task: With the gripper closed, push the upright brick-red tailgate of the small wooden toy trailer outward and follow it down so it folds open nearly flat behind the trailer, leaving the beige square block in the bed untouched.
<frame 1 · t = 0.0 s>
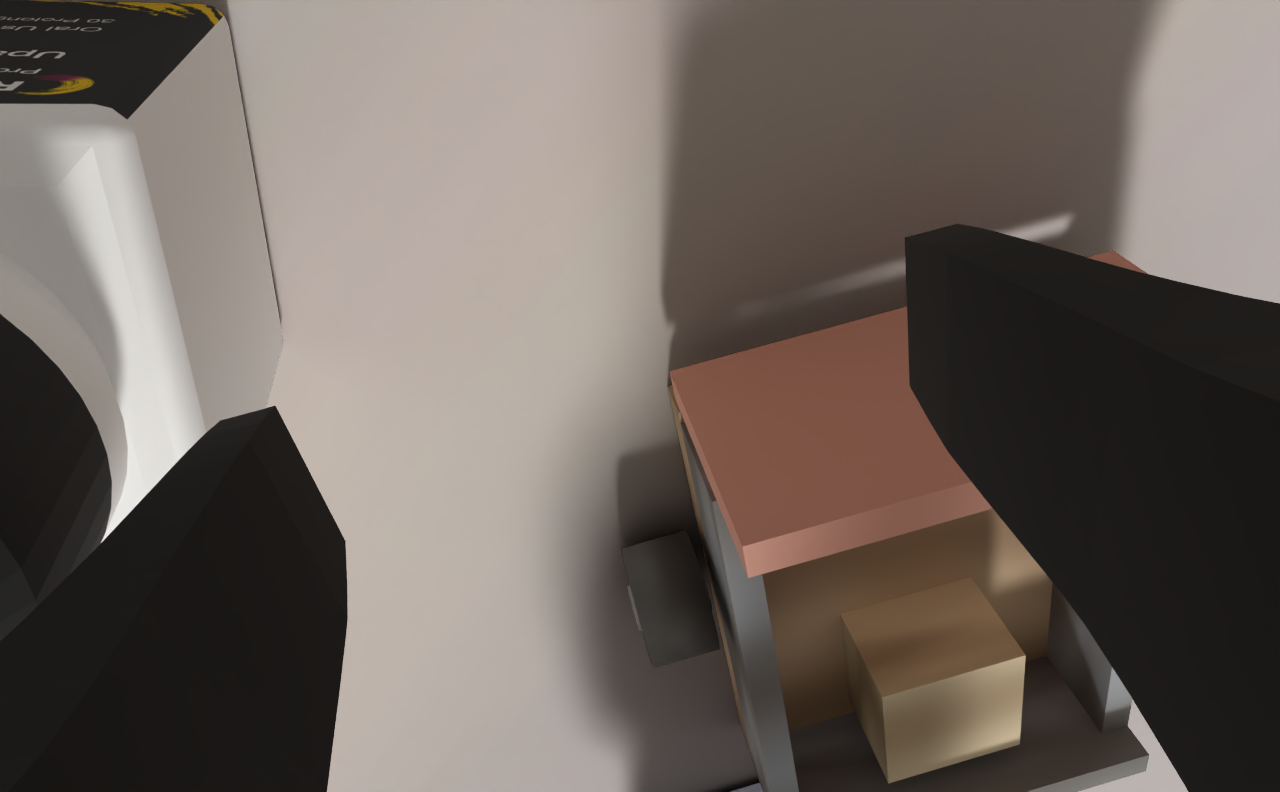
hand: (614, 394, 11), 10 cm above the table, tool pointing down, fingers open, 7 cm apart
trailer: (887, 531, 27), on the table
beige square block: (908, 640, 28), point 1 cm above the table, touching trailer
medicine bottle: (69, 190, 18), on the table
tailgate: (954, 392, 19), point 4 cm above the table, hinge at 0.0°
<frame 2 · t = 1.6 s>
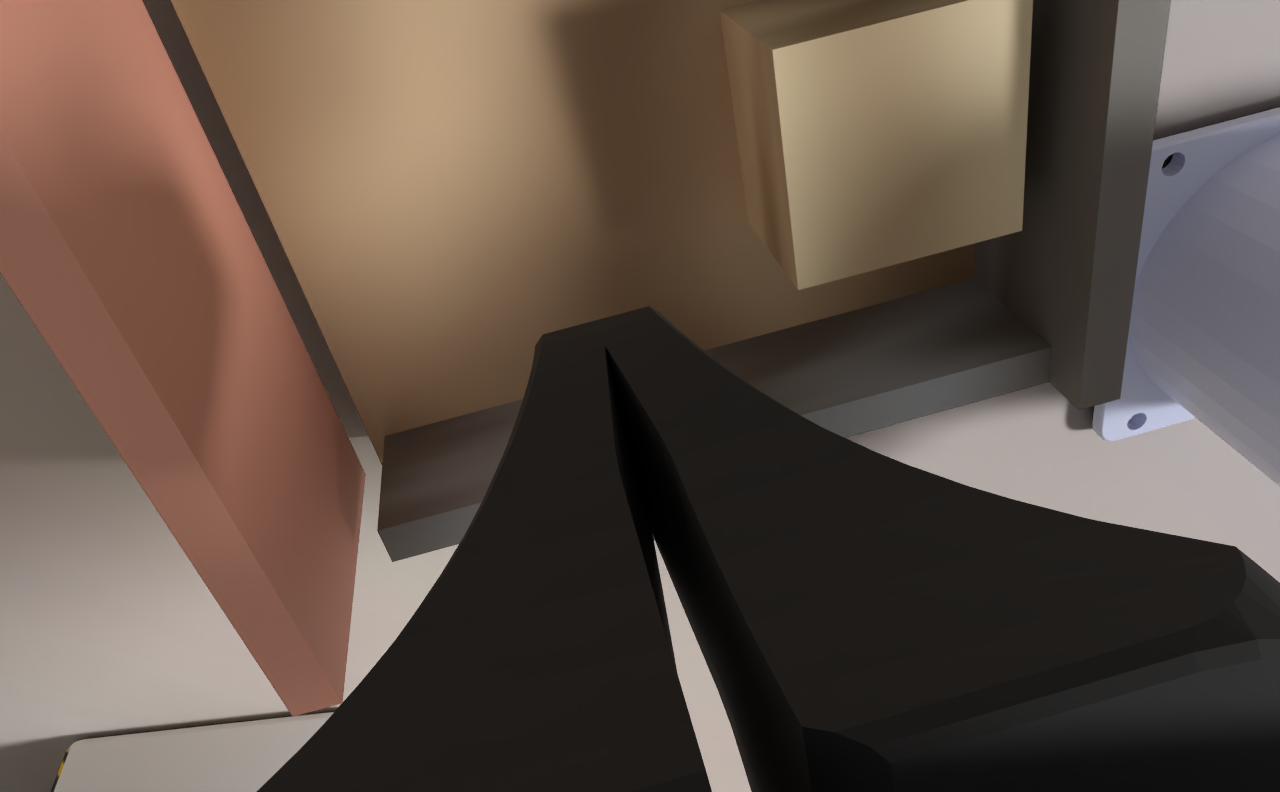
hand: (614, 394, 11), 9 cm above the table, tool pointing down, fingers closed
trailer: (643, 124, 18), on the table
beige square block: (839, 96, 17), point 1 cm above the table, touching trailer
tailgate: (201, 331, 14), point 4 cm above the table, hinge at 0.0°
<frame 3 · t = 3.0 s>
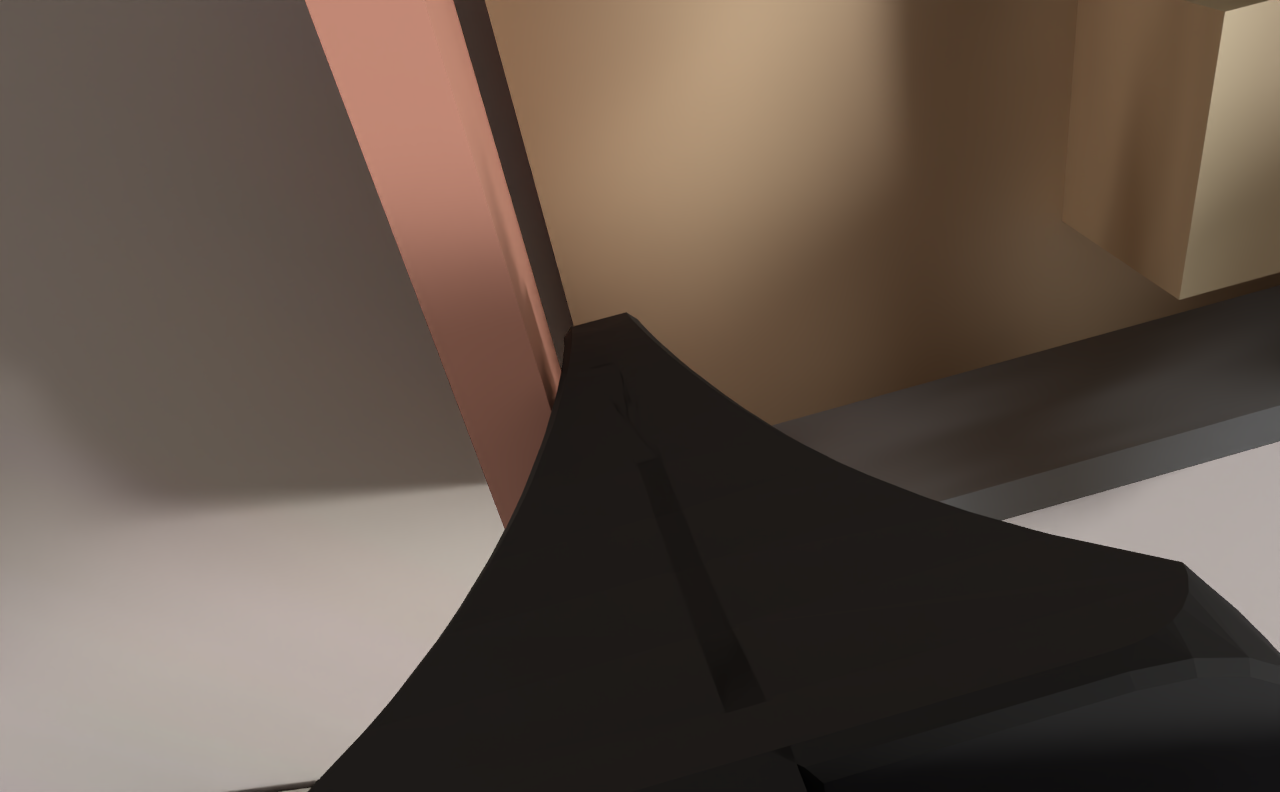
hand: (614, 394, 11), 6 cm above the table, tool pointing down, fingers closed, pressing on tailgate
trailer: (945, 108, 16), on the table
beige square block: (1188, 75, 15), point 1 cm above the table, touching trailer
tailgate: (515, 353, 12), point 4 cm above the table, hinge at 0.1°, touching gripper
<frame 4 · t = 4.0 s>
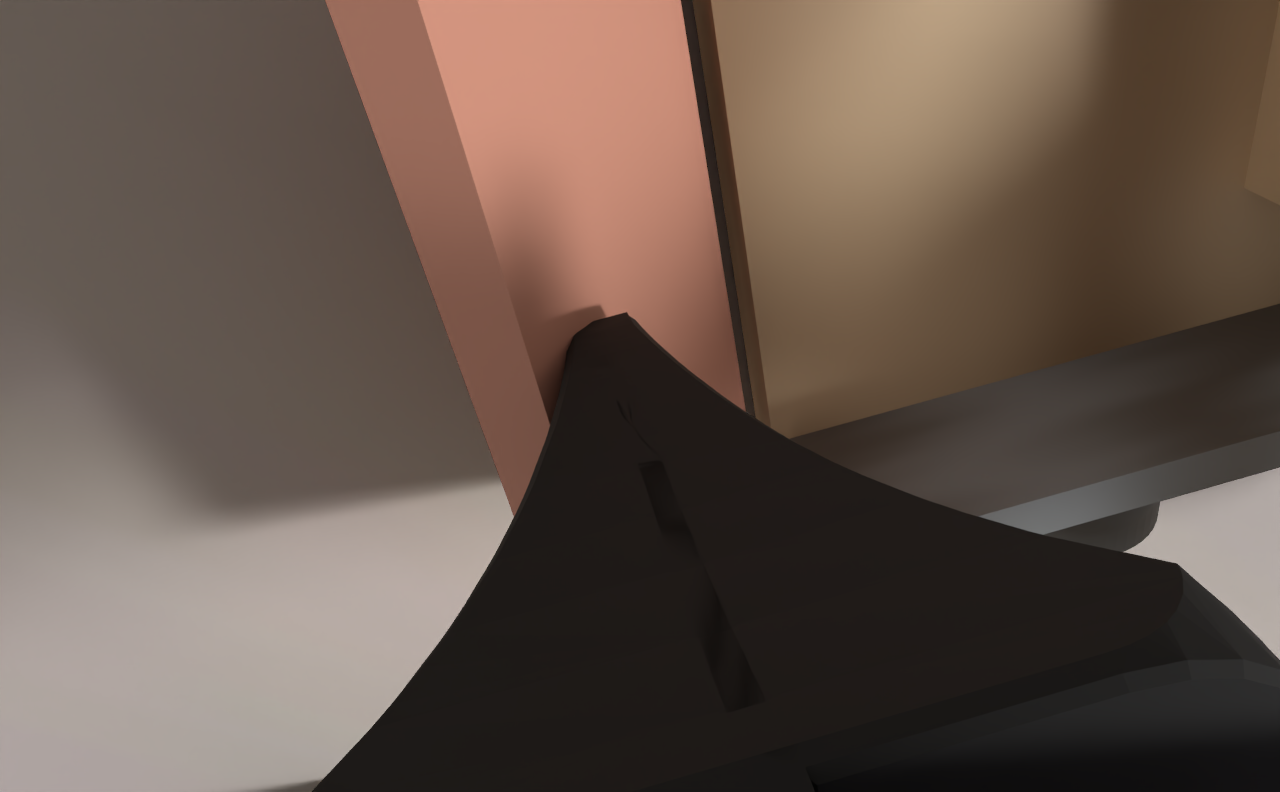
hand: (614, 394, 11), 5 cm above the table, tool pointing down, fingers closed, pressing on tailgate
trailer: (1127, 72, 15), on the table
tailgate: (624, 319, 12), point 4 cm above the table, hinge at 29.5°, touching gripper
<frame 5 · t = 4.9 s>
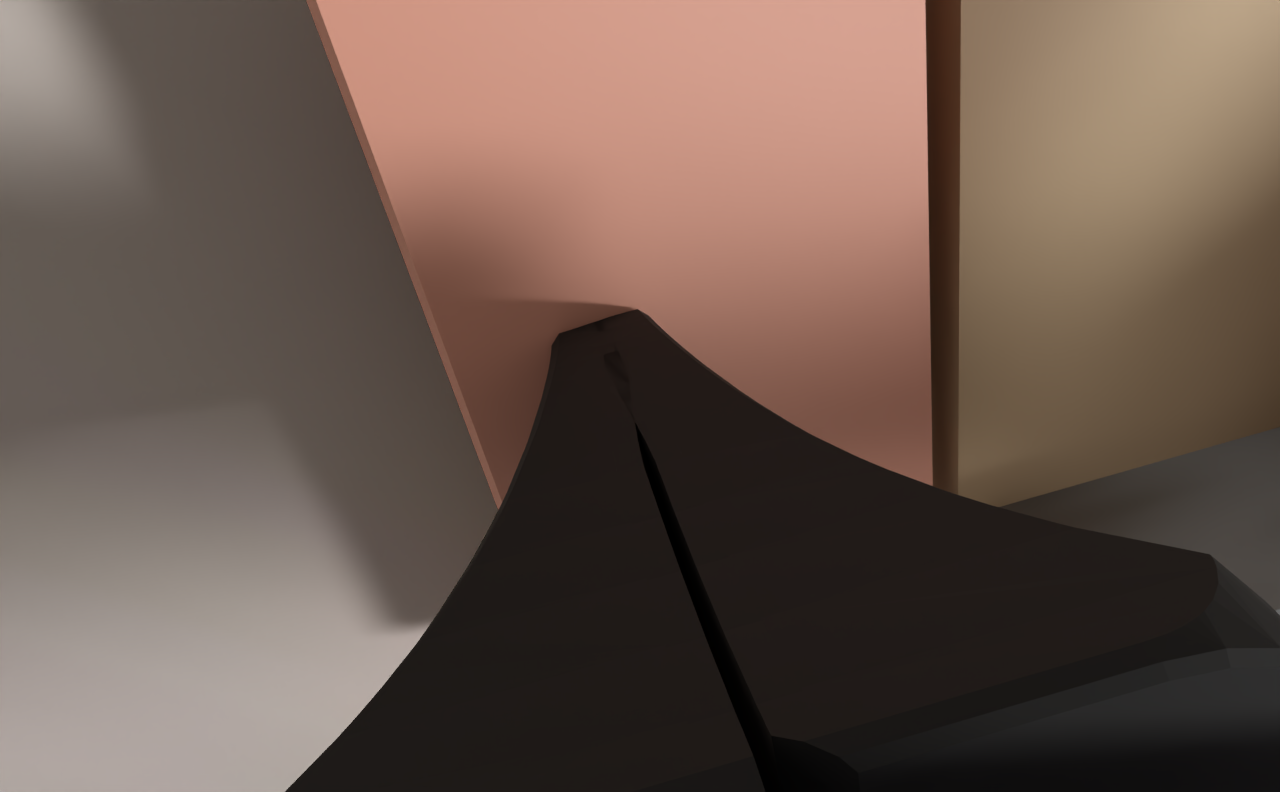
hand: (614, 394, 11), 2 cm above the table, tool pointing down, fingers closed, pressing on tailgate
tailgate: (706, 336, 11), point 2 cm above the table, hinge at 75.5°, touching gripper
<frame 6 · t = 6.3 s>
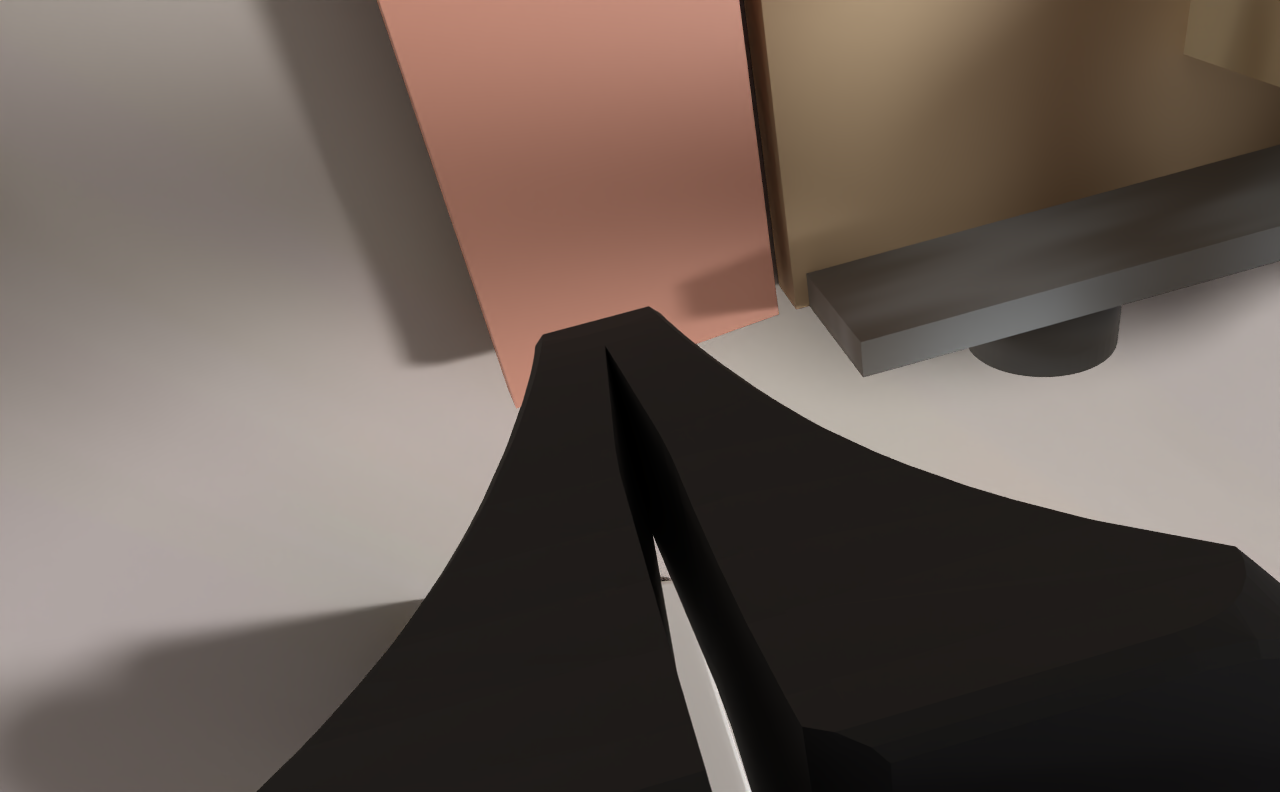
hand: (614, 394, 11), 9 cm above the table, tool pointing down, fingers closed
medicine bottle: (552, 671, 27), on the table
tailgate: (588, 105, 17), point 1 cm above the table, hinge at 82.1°
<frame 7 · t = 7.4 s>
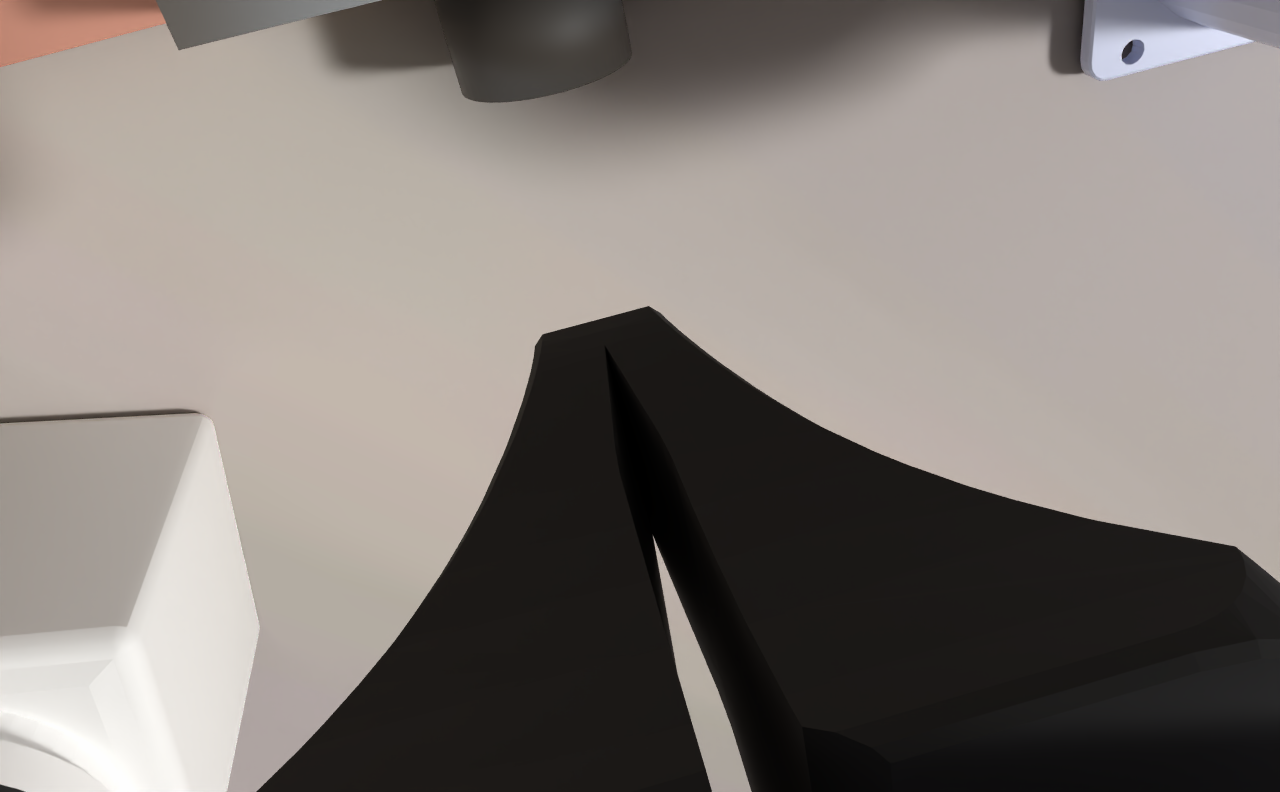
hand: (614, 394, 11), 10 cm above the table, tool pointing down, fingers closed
medicine bottle: (87, 531, 23), on the table
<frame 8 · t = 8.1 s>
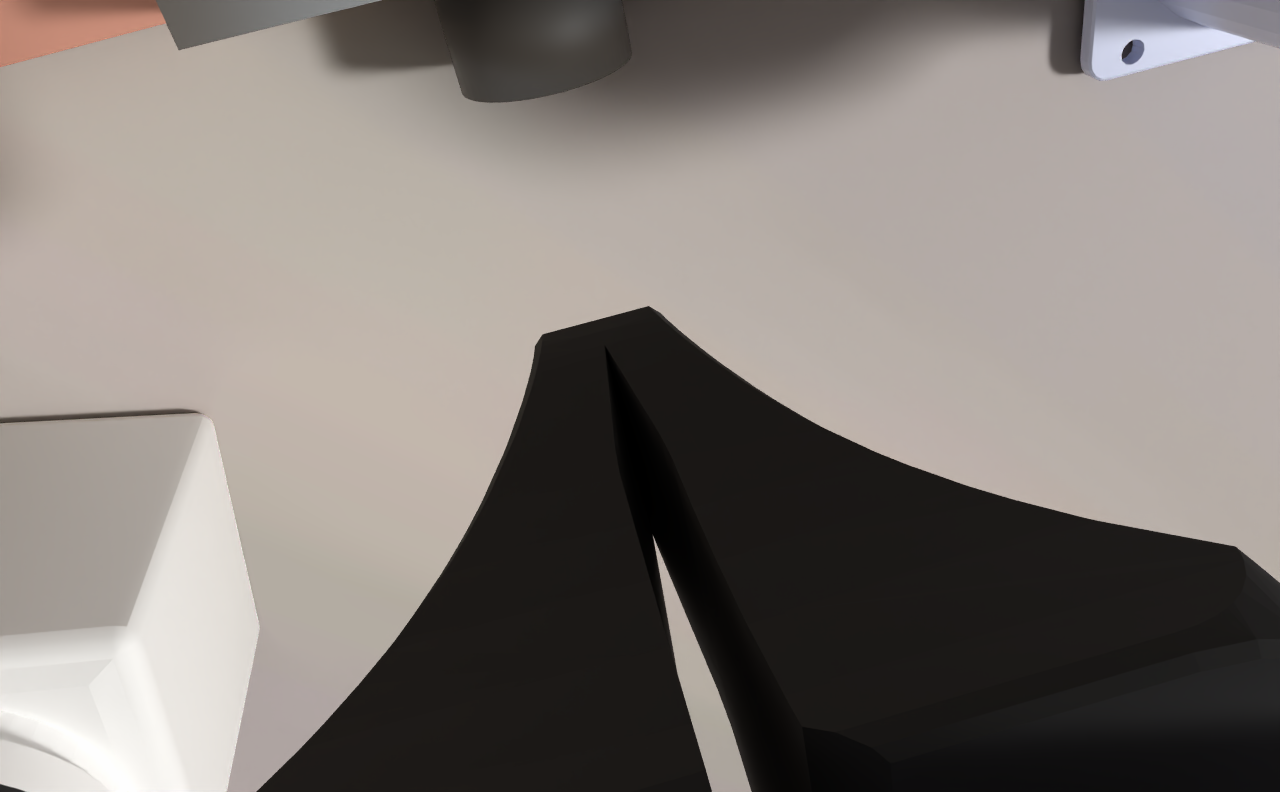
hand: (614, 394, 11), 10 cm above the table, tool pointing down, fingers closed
medicine bottle: (87, 531, 23), on the table
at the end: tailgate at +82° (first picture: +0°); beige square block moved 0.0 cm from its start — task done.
